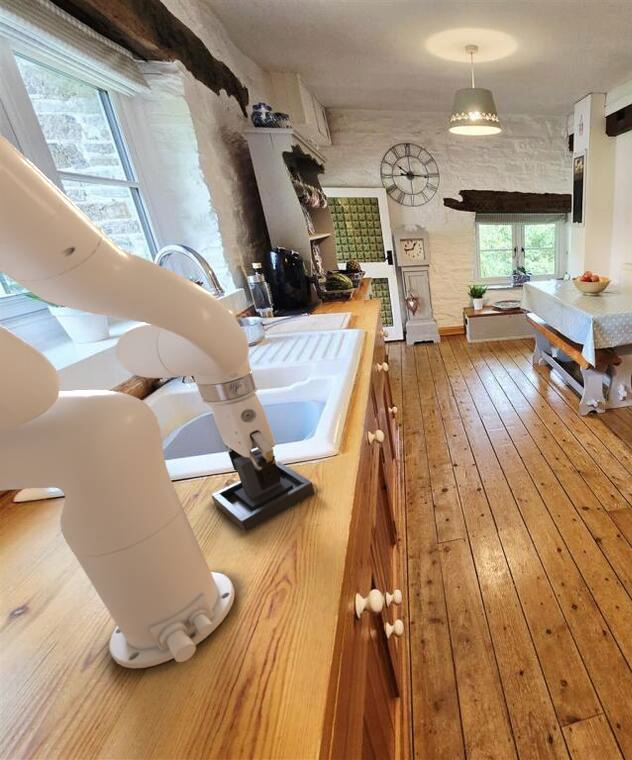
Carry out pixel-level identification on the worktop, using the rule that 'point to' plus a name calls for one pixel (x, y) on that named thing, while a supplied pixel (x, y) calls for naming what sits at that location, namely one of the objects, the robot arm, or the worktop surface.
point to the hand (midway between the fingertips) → (257, 475)
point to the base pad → (250, 518)
